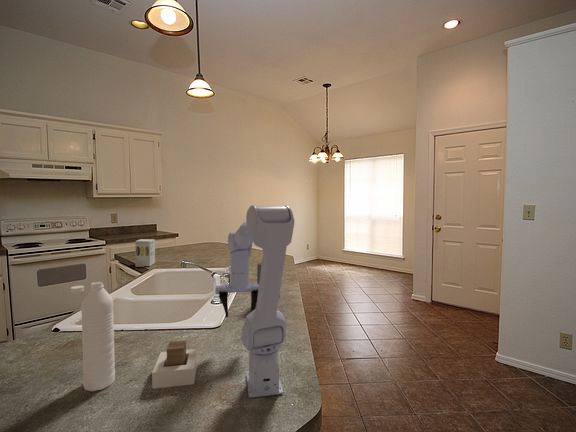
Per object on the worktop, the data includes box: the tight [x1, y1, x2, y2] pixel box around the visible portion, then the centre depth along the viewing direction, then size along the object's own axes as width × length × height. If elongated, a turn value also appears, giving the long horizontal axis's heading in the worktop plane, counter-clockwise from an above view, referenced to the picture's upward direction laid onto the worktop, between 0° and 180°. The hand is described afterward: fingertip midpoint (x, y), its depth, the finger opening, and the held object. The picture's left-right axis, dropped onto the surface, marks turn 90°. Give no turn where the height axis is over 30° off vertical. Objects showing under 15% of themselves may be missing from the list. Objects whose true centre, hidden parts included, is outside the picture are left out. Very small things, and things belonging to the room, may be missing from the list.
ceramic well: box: [151, 348, 199, 390], centre depth 76 cm, size 10×10×4 cm
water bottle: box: [70, 281, 116, 392], centre depth 70 cm, size 9×6×25 cm
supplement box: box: [134, 238, 156, 268], centre depth 195 cm, size 10×9×17 cm
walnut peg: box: [166, 339, 187, 367], centre depth 76 cm, size 4×4×8 cm
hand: (239, 315), depth 92 cm, fingers open, 7 cm apart
